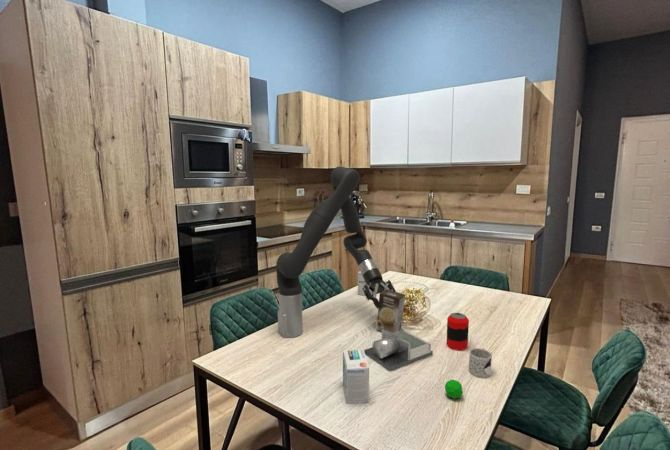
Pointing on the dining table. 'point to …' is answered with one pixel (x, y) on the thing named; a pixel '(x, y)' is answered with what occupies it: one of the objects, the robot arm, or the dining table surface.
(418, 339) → the motor mount
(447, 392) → the green ball
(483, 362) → the mug
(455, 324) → the soda can
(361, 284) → the supplement box
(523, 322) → the dining table surface
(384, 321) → the coffee box
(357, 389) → the light bulb box
